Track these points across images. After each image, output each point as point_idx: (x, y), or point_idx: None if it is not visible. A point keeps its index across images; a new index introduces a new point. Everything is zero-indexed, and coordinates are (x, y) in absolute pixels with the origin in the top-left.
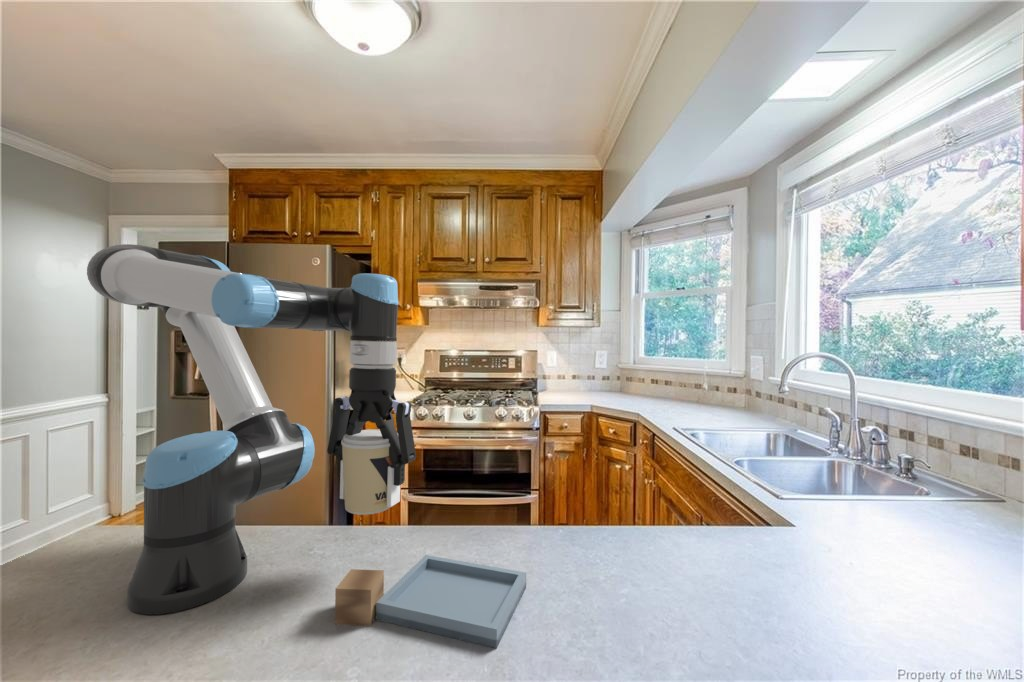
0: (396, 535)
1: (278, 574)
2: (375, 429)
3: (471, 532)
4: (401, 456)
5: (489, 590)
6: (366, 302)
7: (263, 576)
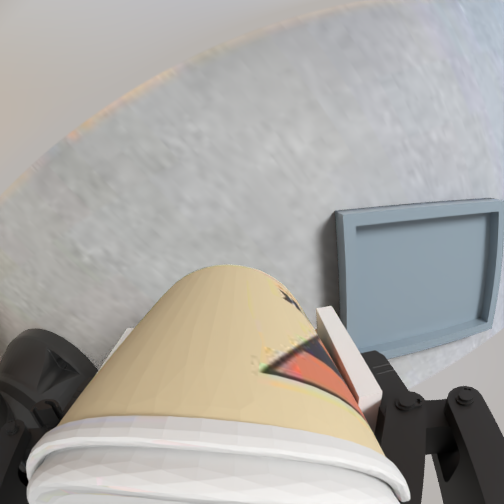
0: (178, 117)
1: (109, 332)
2: (55, 489)
3: (332, 37)
4: (434, 465)
5: (464, 243)
6: None
7: (98, 343)
